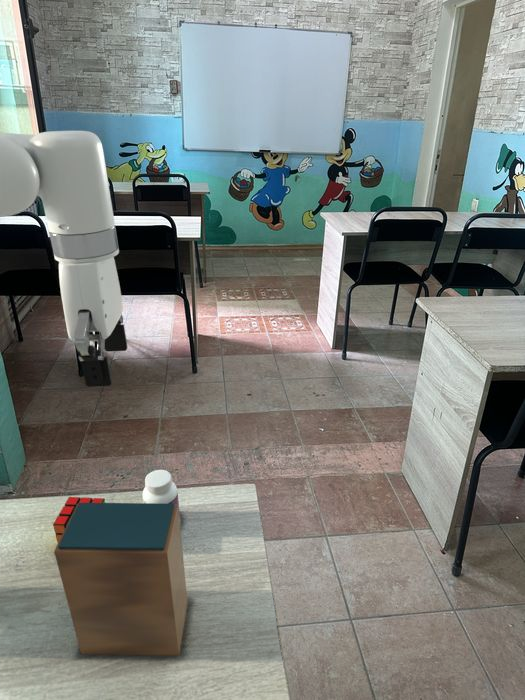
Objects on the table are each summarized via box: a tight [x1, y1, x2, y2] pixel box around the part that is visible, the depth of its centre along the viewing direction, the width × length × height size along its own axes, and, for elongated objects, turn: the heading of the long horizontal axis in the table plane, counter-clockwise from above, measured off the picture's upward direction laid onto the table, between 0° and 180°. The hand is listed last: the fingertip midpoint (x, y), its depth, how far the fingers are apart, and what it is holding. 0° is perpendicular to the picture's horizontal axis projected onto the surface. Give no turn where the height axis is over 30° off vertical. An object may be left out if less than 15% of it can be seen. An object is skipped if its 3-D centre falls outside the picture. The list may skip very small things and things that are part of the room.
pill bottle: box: [142, 469, 181, 520], centre depth 75 cm, size 5×5×10 cm
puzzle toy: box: [52, 496, 106, 543], centre depth 73 cm, size 6×6×6 cm
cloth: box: [58, 502, 174, 550], centre depth 54 cm, size 11×6×1 cm, turn 89°
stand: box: [53, 503, 188, 656], centre depth 58 cm, size 12×7×18 cm, turn 89°
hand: (108, 366), depth 66 cm, fingers open, 9 cm apart
